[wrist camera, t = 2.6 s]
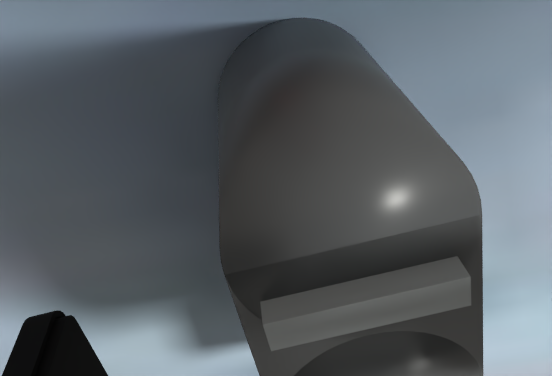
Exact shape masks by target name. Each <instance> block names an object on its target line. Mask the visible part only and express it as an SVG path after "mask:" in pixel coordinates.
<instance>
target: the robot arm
mask: <svg viewBox="0 0 552 376" xmlns="http://www.w3.org/2000/svg"><path fill="white" fill-rule="evenodd" d="M2 376H108V375H107V373H106V371H105V369H104V368H103V366H102V364H101V362H100V361H99V359H98V357H97V355H96V354H95V352H94V350H93V349H92V347H91V345H90V343H89V342H88V340H87V338H86V336H85V335H84V333H83V331H82V329H81V328H80V326H79V324H78V322H77V321H76V319H75V318H74V317H73V316H72V315H69V316H65V314H64V313H63V312H61V311H53V312H49V313H45V314H41V315H37V316H33V317H29V318H27V319H26V320H25V322H24V323H23V325H22V328H21V330H20V333H19V335H18V337H17V340H16V342H15V345H14V347H13V350H12V352H11V355H10V357H9V360H8V362H7V364H6V367H5V369H4V372H3V374H2Z"/></svg>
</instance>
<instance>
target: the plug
mask: <svg viewBox="0 0 552 376" xmlns="http://www.w3.org/2000/svg"><path fill="white" fill-rule="evenodd" d="M218 156H219V228H220V256H221V263H222V267H223V271H224V275H225V278H226V281H227V284H228V286H229V289H230V292H231V295H232V298H233V301H234V304H235V306H236V309H237V312H238V315H239V318H240V321H241V324H242V327H243V329H244V332H245V335H246V338H247V341H248V344H249V347H250V349H251V352H252V355H253V358H254V361H255V364H256V367H257V370H258V372H259V375H260V376H483V278H482V208H481V199H480V196H479V192H478V188H477V185H476V183H475V181H474V179H473V177H472V174H471V173H470V171H469V170H468V168H467V167H466V166H465V164H464V163H463V161H462V160H461V159H460V158H459V157H458V156H457V154H456V153H455V152H454V151H453V150H452V149H451V148H450V146H449V145H448V144H447V143H446V142H445V141H444V139H443V138H442V137H441V136H440V135H439V134H438V133H437V131H436V130H435V129H434V128H433V127H432V126H431V124H430V123H429V122H428V121H427V120H426V119H425V118H424V116H423V115H422V114H421V113H420V112H419V111H418V109H417V108H416V107H415V106H414V105H413V104H412V103H411V101H410V100H409V99H408V98H407V97H406V96H405V95H404V93H403V92H402V91H401V90H400V89H399V88H398V86H397V85H396V84H395V83H394V82H393V81H392V80H391V78H390V77H389V76H388V75H387V74H386V73H385V71H384V70H383V69H382V68H381V67H380V66H379V65H378V63H377V62H376V61H375V60H374V59H373V58H372V57H371V55H370V54H369V53H368V52H367V51H366V50H365V48H364V47H363V46H362V45H361V44H360V43H359V42H358V41H357V40H356V39H355V38H354V37H353V36H352V35H351V34H349V33H348V32H347V31H345V30H344V29H342V28H340V27H338V26H337V25H334V24H331V23H329V22H326V21H322V20H318V19H311V18H292V19H287V20H282V21H278V22H275V23H272V24H270V25H268V26H265V27H263V28H261V29H259V30H258V31H256V32H255V33H253V34H252V35H250V36H249V37H248V38H247V39H246V40H244V41H243V42H242V43H241V44H240V45H239V47H238V48H237V49H236V50H235V51H234V53H233V54H232V55H231V57H230V58H229V60H228V62H227V64H226V66H225V68H224V70H223V73H222V76H221V79H220V83H219V88H218Z"/></svg>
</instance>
